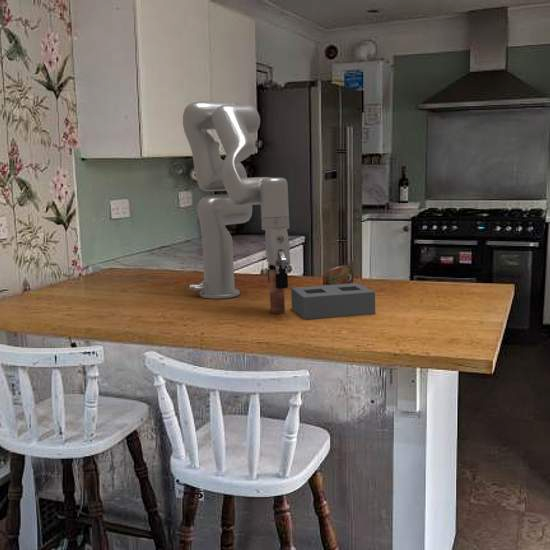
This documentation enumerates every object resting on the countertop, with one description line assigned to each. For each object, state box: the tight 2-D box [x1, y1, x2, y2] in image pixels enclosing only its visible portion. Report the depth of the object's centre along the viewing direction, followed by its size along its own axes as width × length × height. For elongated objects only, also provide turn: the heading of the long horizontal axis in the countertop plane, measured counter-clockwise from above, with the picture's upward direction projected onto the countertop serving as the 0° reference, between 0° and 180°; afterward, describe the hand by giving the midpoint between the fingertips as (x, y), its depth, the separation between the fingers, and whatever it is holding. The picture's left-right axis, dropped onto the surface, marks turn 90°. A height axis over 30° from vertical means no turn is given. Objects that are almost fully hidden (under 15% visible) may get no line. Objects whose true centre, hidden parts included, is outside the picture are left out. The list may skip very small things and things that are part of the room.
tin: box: [322, 264, 354, 286], centre depth 217 cm, size 15×3×8 cm, turn 144°
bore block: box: [290, 282, 376, 320], centre depth 193 cm, size 20×14×6 cm
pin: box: [269, 269, 286, 315], centre depth 192 cm, size 4×4×12 cm
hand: (278, 285), depth 191 cm, fingers open, 9 cm apart
